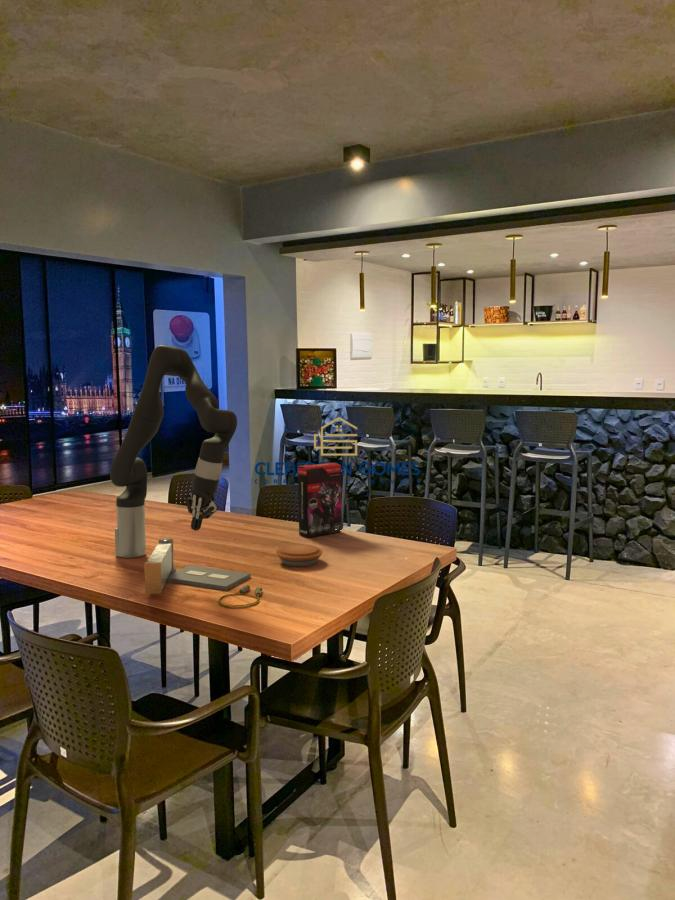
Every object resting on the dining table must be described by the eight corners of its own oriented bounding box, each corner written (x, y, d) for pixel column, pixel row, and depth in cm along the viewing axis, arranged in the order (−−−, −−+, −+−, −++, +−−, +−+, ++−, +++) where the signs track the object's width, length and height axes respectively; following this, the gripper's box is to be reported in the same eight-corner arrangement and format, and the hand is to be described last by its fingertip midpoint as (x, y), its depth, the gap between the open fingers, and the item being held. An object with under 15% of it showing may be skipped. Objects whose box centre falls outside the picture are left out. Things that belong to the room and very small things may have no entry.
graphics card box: (307, 538, 259) (307, 467, 255) (296, 535, 264) (297, 465, 261) (342, 532, 269) (343, 464, 266) (331, 529, 274) (332, 462, 271)
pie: (305, 553, 238) (305, 539, 237) (331, 563, 225) (331, 549, 225) (267, 560, 229) (267, 546, 228) (292, 571, 216) (292, 556, 216)
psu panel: (144, 577, 208) (144, 573, 207) (172, 566, 220) (172, 561, 220) (226, 590, 197) (226, 585, 196) (250, 577, 209) (250, 572, 209)
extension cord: (278, 598, 191) (278, 591, 191) (235, 613, 180) (235, 606, 179) (249, 589, 199) (249, 582, 199) (206, 602, 188) (206, 595, 187)
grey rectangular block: (160, 566, 215) (159, 538, 214) (174, 566, 215) (174, 538, 214) (145, 594, 188) (144, 562, 187) (161, 594, 188) (160, 562, 187)
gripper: (183, 468, 203) (171, 522, 205) (213, 481, 195) (200, 538, 198) (201, 467, 209) (189, 521, 211) (231, 481, 201) (219, 536, 204)
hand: (195, 529), depth 205 cm, fingers closed
